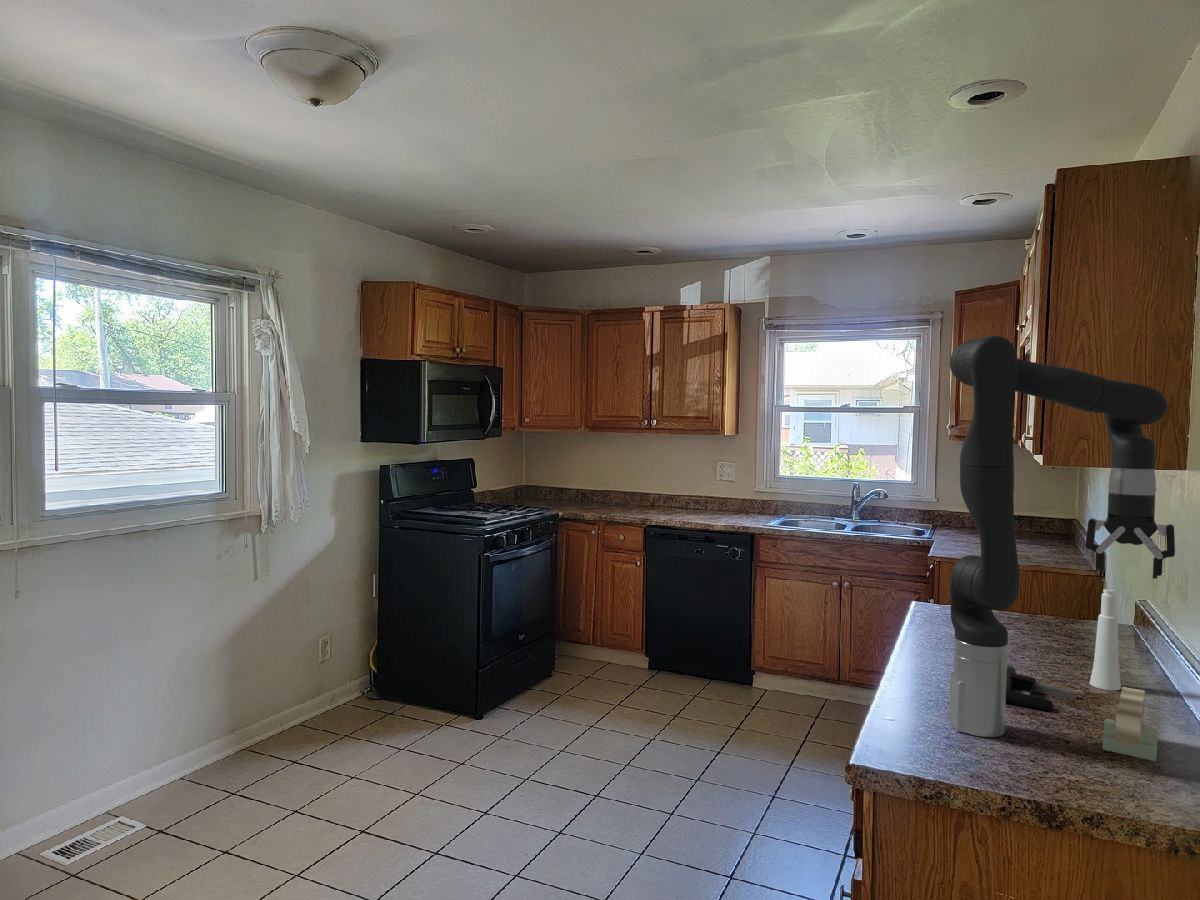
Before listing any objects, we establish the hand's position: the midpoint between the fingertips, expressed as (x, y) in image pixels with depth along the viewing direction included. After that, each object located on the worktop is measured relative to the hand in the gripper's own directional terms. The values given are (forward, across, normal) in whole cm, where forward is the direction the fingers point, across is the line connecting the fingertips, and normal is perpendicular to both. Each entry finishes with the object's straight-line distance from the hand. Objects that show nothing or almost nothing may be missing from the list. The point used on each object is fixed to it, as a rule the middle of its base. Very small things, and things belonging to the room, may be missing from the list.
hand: (1128, 575), depth 152 cm
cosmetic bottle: (+30, -4, +27) cm, 41 cm away
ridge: (+30, +2, -12) cm, 32 cm away
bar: (+26, +2, -12) cm, 28 cm away
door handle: (+31, -17, +10) cm, 36 cm away
